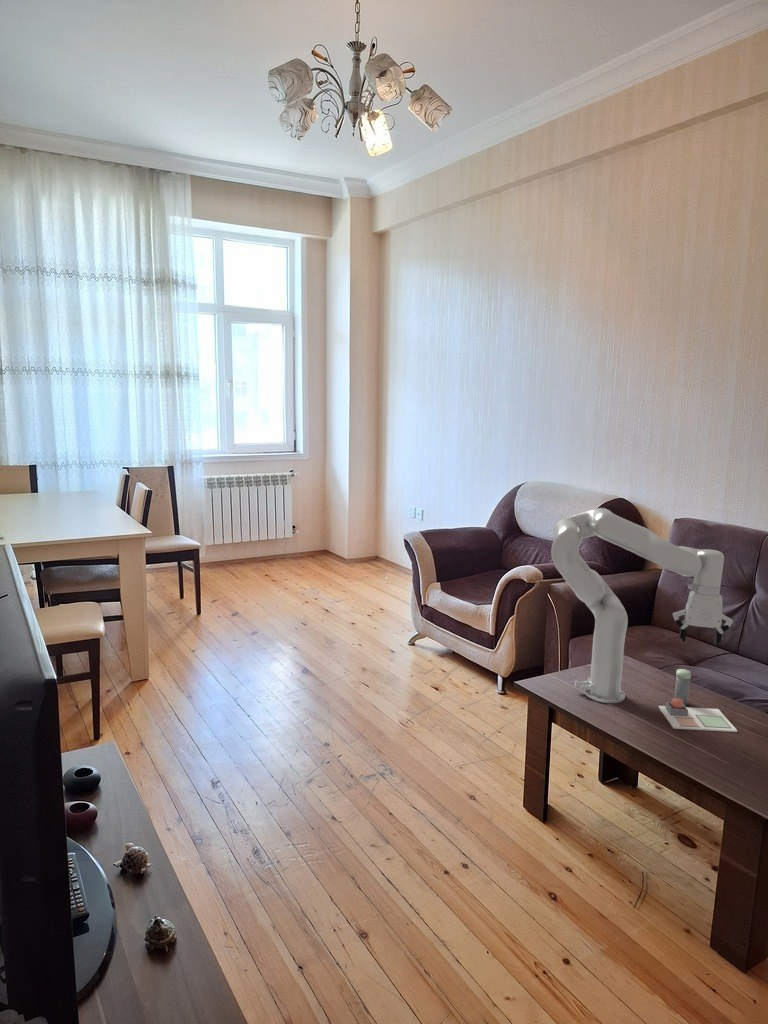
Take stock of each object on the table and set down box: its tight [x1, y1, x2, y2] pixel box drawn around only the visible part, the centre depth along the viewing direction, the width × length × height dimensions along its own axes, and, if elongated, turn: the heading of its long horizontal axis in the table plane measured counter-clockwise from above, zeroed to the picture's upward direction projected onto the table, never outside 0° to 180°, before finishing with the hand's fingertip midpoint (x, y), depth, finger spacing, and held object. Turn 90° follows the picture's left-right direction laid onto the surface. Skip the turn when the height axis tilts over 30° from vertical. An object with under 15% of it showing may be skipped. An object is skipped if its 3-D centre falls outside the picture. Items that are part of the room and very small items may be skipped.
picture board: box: [658, 701, 738, 733], centre depth 205 cm, size 18×14×2 cm
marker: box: [673, 668, 692, 707], centre depth 216 cm, size 4×4×11 cm
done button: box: [670, 697, 683, 709], centre depth 208 cm, size 3×3×2 cm
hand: (699, 642), depth 213 cm, fingers open, 9 cm apart
